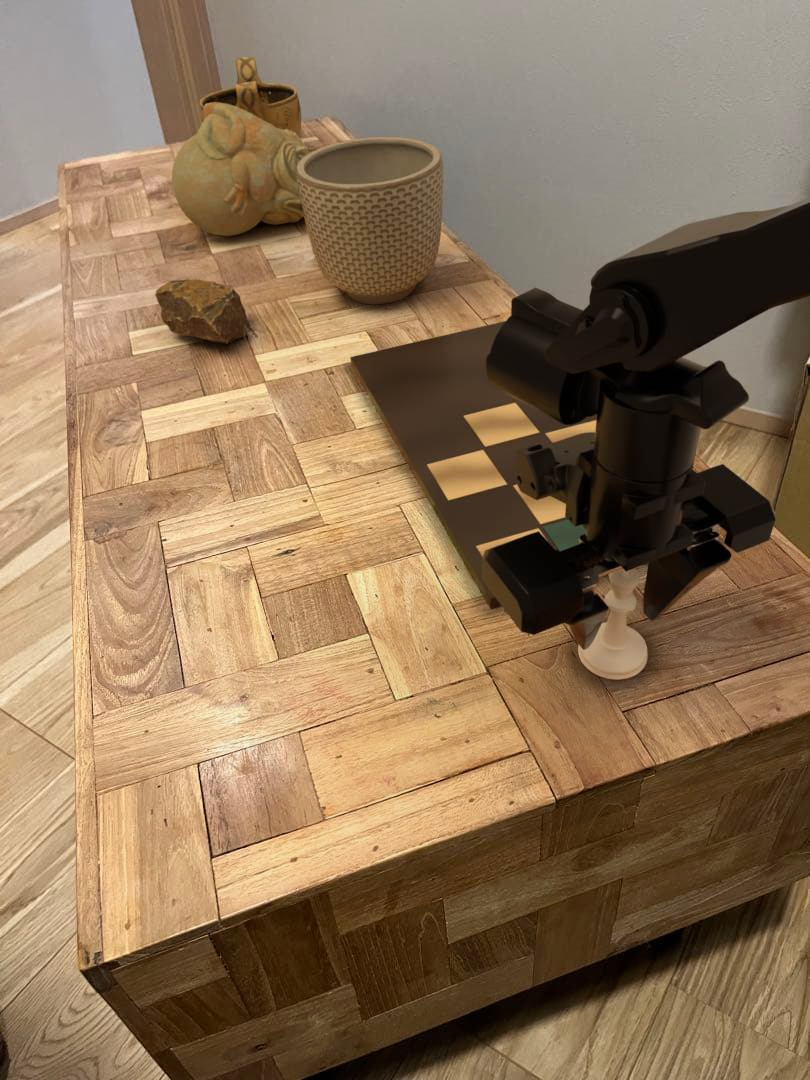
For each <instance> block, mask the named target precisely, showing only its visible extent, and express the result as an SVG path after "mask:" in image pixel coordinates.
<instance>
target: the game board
mask: <svg viewBox="0 0 810 1080" xmlns="http://www.w3.org/2000/svg"><path fill="white" fill-rule="evenodd" d="M505 322H506V320H504V321H500V322H495V323H491V324H487V325H483V326H478V327H474V328H469V329H466V330H462V331H457V332H452V333H447V334H443V335H440V336H435V337H431V338H427V339H422V340H418V341H414V342H409V343H405V344H401V345H396V346H392V347H388V348H384V349H379V350H375V351H371V352H366V353H362V354H357V355H354V356H350V357H349V358H350V366H351V368H352V370H353V372H354V373H355V375H356V377H357V379H358V380H359V382H360V384H361V385H362V387H363V390H364V391H365V393H366V394H367V396H368V398H369V400H370V402H371V403H372V405H373V407H374V408H375V410H376V412H377V414H378V415H379V417H380V419H381V420H382V422H383V424H384V425H385V428H386V430H387V431H388V432H389V435H390V436H391V438H392V440H393V441H394V443H395V445H396V447H397V448H398V450H399V452H400V453H401V456H402V457H403V459H404V460H405V462H406V464H407V466H408V467H409V470H410V471H411V473H412V474H413V476H414V478H415V480H416V482H417V483H418V485H419V487H420V489H421V490H422V492H423V494H424V496H425V498H426V499H427V501H428V503H429V504H430V506H431V508H432V509H433V511H434V513H435V514H436V516H437V518H438V520H439V522H440V523H441V525H442V527H443V529H444V530H445V532H446V534H447V536H448V538H449V539H450V541H451V543H452V545H453V546H454V548H455V549H456V551H457V553H458V556H459V557H460V558H461V560H462V562H463V564H464V565H465V567H466V569H467V571H468V573H469V574H470V576H471V578H472V579H473V581H474V583H475V585H476V586H477V588H478V590H479V592H480V593H481V595H482V597H483V598H484V600H485V602H486V604H487V605H488V607H489V609H493V608H497V607H500V606H502V605H501V604H500V603H499V601H498V600H497V599H496V597H495V596H494V595H493V593H492V592H491V591H490V589H489V588H488V587H487V585H486V584H485V583H484V581H483V580H482V558H483V555H484V552H485V550H487V549H490V548H493V547H496V546H498V545H501V544H504V543H506V542H509V541H512V540H515V539H517V538H520V537H523V536H526V535H528V534H531V533H535V532H538V531H539V532H540V533H541V534H542V536H543V537H544V538H545V539H546V540H547V541H548V542H549V543H550V545H551V546H552V547H553V548H554V549H555V550H557V549H558V550H559V551H562V550H565V549H568V548H570V547H573V546H576V545H578V544H580V543H579V537H580V536H581V535H584V534H585V528H584V527H583V526H582V525H579V526H577V527H575V526H574V525H573V524H572V523H571V522H570V521H569V520H568V519H567V518H566V517H565V511H566V504H565V503H563V502H561V501H559V500H557V499H555V498H553V497H551V496H548V497H545V498H542V499H539V500H535V499H533V498H531V497H529V496H528V495H526V494H524V493H522V492H521V491H520V489H519V487H518V485H517V479H516V473H515V464H516V455H517V450H520V449H523V448H526V447H529V446H532V445H535V444H541V445H542V446H545V445H548V444H551V443H554V442H557V441H560V440H563V439H566V438H569V437H572V436H575V435H578V434H581V433H587V432H595V429H596V420H597V414H596V415H594V416H591V417H586V418H585V419H584V420H582V421H580V422H578V423H575V424H573V425H565V424H562V423H560V422H558V421H556V420H554V419H553V418H551V417H549V416H547V415H545V414H543V413H541V412H539V411H537V410H536V409H534V408H532V407H530V406H528V405H526V404H524V403H522V402H520V401H519V400H517V399H515V398H513V397H511V396H509V395H507V394H505V393H503V392H502V391H500V390H498V389H496V388H494V387H493V385H492V384H491V383H490V381H489V379H488V377H487V371H486V358H487V356H488V354H490V351H491V347H492V344H493V342H494V340H495V337H496V335H497V333H498V332H499V330H500V328H501V327H502V325H503V324H504V323H505ZM715 532H717V531H715Z"/></svg>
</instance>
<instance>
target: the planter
mask: <svg viewBox="0 0 810 1080" xmlns="http://www.w3.org/2000/svg"><path fill="white" fill-rule="evenodd" d="M441 153H442V152H440V150H439V149H438V148H437V147H436V146H435V145H433V144H431V143H429V142H425V141H423V140H419V139H416V138H409V137H400V136H399V137H397V136H375V137H363V138H354V139H349V140H343V141H340V142H334V143H332V144H327V145H324V146H322V147H319V148H318V149H315V150H313V151H311V152H310V153H309V154H308V155H306V156H305V157H303V158H302V159H301V160H300V161H299V163H298V164H297V167H296V180H297V187H298V192H299V197H300V201H301V205H302V210H303V214H304V216H303V218H304V219H303V220H304V223H305V227H306V231H307V235H308V239H309V242H310V245H311V246H310V247H311V249H312V252H313V255H314V258H315V261H316V264H317V266H318V268H319V270H320V272H321V274H322V276H323V277H324V278H325V279H326V280H327V281H328V282H329V283H330V284H332V285H333V286H334V287H336V288H338V289H339V290H341V291H344V292H345V293H346V294H347V296H348V297H349V298H351V299H352V300H354V301H356V302H357V303H362V304H365V305H386V304H391V303H395V302H399V301H401V300H403V299H405V298H407V297H408V296H410V295H411V293H412V292H413V291H414V289H415V287H416V285H417V284H419V283H420V282H421V281H423V280H424V279H425V278H426V277H427V276H428V275H429V274H430V272H431V271H432V270H433V268H434V267H435V264H436V262H437V259H438V256H439V252H440V251H439V250H440V244H441V243H440V242H441V235H442V223H443V196H444V195H443V194H444V165H443V164H444V163H443V156H442V154H441Z"/></svg>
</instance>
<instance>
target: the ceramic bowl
mask: <svg viewBox="0 0 810 1080" xmlns="http://www.w3.org/2000/svg"><path fill="white" fill-rule="evenodd" d="M235 66H236V73H237V80H236V83H235V84H234V86H232V87H228V88H223V89H219V90H216V91H214V92H211V93H208V94H206V95H204V97H202V98H200V100H199V110H200V115H201V116H200V118H201V121H202V122H201V123H203V121H204V119H205V118H204V112H203V110H204V106H205V104H206V103H207V104H208V103H212V102H219V103H225V104H229V105H232V106H236V107H238V108H240V109H243V110H246V111H247V112H249V113H252V114H253V115H255V116H257V117H258V118H260V119H262V120H263V121H266V122H268V123H270V124H272V125H273V126H275V127H276V128H279V129H281V130H285V129H289V130H291V131H293V132H295V133H296V135H297V136H298V137H299V138H300V136H301V129H302V110H301V109H302V108H301V104H300V99H299V95H298V91H297V88H296V87H294V86H292V85H289V84H286V83H276V82H271V83H268V82H265V81H262V80H261V78H260V76H259V75H258V74H259V73H258V69H257V64H256V58H255V56H242V57H236V58H235Z"/></svg>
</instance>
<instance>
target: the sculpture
mask: <svg viewBox="0 0 810 1080" xmlns="http://www.w3.org/2000/svg"><path fill="white" fill-rule="evenodd" d="M203 112H204V118H205V119H204V121H203V122H201V124H200V125H199V127H198V130H197V132H196V133H195V134H194V135H192V136H191V137H190V138H189V139H187V140H186V141H185V142H184V143H183V145H182V146H181V147H180V149H179V150H178V152H177V154H176V156H175V159H174V162H173V165H172V173H171V175H172V176H171V181H172V182H171V183H172V189H173V193H174V196H175V197H174V198H175V199H176V202H177V205H178V206H179V208H180V209H181V211H182V212H183V214H184V216H186V218H188V219H189V220H190V222H191V223H192V224H194V225H195V226H196V227H198V228H199V229H200V230H201V229H202V230H203V231H205V232H206V233H210V234H213V235H215V236H223V237H224V236H226V237H229V236H231V237H232V236H237V235H241V234H244V233H246V232H249V231H250V230H252V229H253V228H255V227H256V226H257V225H258V224H259V223H260V222H261V223H264V224H267V225H274V226H277V225H282V224H288V223H290V224H294V223H297V222H299V221H300V219H303V218H304V214H303V210H302V205H301V201H300V197H299V192H298V187H297V180H296V167H297V164H298V163H299V161H300V160H301V159H302V158H303V157H305V156H306V155H308V154H309V153H311V152H310V151H309V149H308V148H307V146H306V144H305V143H304V142H303V140H302V139H301V138H300V136H299V137H298V136H297V135H296V133H295V132H293V131H291V130H289V129H285V130H281V129H279V128H276V127H275V126H273V125H272V124H270V123H268V122H266V121H263V120H262V119H260V118H258V117H257V116H255V115H253V114H252V113H249V112H247V111H246V110H243V109H240V108H238V107H236V106H232V105H229V104H225V103H219V102H212V103H208V104H207V103H206V104H205V106H204V110H203Z"/></svg>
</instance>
